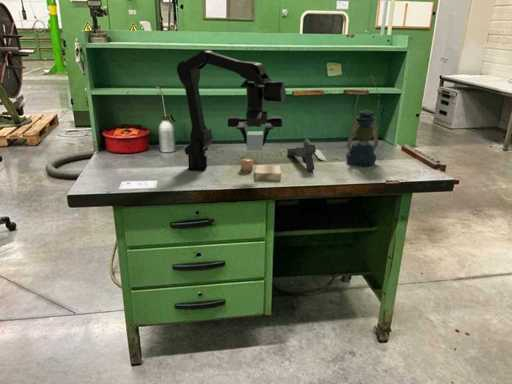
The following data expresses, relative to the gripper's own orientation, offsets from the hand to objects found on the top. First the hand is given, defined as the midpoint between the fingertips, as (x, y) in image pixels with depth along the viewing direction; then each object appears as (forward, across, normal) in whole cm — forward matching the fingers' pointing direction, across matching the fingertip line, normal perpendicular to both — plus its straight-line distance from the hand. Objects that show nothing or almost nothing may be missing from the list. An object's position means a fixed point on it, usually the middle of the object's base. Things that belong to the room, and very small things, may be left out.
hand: (255, 145), depth 150 cm
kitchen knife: (+12, +25, +36) cm, 46 cm away
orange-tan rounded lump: (+12, -4, +7) cm, 14 cm away
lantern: (+13, +42, +21) cm, 49 cm away
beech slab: (+12, +4, +1) cm, 13 cm away
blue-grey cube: (+1, 0, 0) cm, 1 cm away
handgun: (+12, +17, +19) cm, 28 cm away
